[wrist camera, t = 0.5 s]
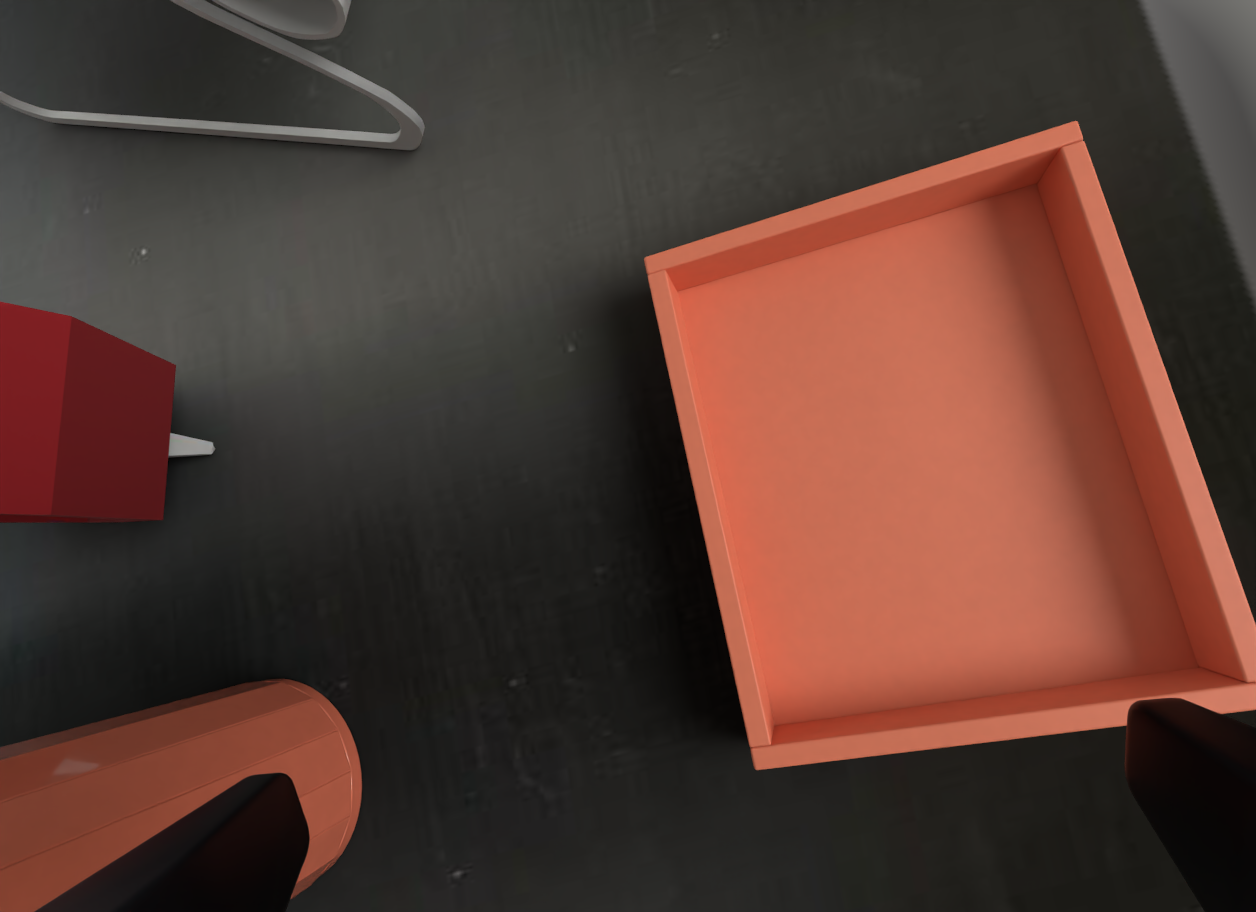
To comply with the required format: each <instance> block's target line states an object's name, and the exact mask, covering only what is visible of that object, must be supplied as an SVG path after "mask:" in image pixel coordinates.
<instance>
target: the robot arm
mask: <svg viewBox="0 0 1256 912" xmlns="http://www.w3.org/2000/svg"><path fill="white" fill-rule="evenodd" d="M1125 774H1126V779H1127V782H1128V785H1129V788H1130V790H1131V792H1132V794H1133V796H1134V798H1135V800H1136V801H1137V803H1138V805H1139V806H1140V808H1141V809H1142V811H1143V813H1144V814H1145V816H1146V817H1147V819H1148V821H1149V822H1150V824H1151V826H1152V827H1153V829H1154V830H1155V832H1156V834H1157V835H1158V837H1159V838H1160V840H1161V842H1162V843H1163V845H1164V846H1165V848H1166V850H1167V851H1168V853H1169V855H1170V856H1171V858H1172V859H1173V861H1174V863H1175V864H1176V866H1177V867H1178V869H1179V871H1180V872H1181V874H1182V875H1183V877H1184V879H1185V880H1186V882H1187V884H1188V885H1189V887H1190V888H1191V890H1192V892H1193V893H1194V895H1195V896H1196V898H1197V900H1198V901H1199V903H1200V904H1201V906H1202V908H1203V909H1204V911H1205V912H1256V728H1254V727H1251V726H1249V725H1247V724H1244V723H1242V722H1239V721H1237V720H1234V719H1232V718H1229V717H1227V716H1224V715H1222V714H1219V713H1217V712H1214V711H1212V710H1209V709H1207V708H1204V707H1202V706H1199V705H1197V704H1194V703H1192V702H1189V701H1187V700H1184V699H1181V698H1160V699H1148V700H1139V701H1136V702H1134V703H1133V704H1132V705H1131V706H1130V708H1129V710H1128V715H1127V733H1126V752H1125ZM309 841H310V835H309V828H308V824H307V821H306V818H305V815H304V812H303V809H302V806H301V803H300V800H299V797H298V795H297V792H296V789H295V786H294V783H293V781H292V779H291V778H290V777H289V776H288V775H287V774H284V773H268V774H256V775H251V776H248V777H246V778H244V779H243V780H241V781H239V782H238V783H236V784H235V785H233V786H232V787H230V788H228V789H227V790H225V791H224V792H222V793H221V794H219V795H217V796H216V797H214V798H213V799H211V800H209V801H208V802H206V803H205V804H203V805H202V806H200V807H198V808H197V809H195V810H194V811H192V812H191V813H189V814H187V815H186V816H184V817H183V818H181V819H179V820H178V821H176V822H175V823H173V824H172V825H170V826H168V827H167V828H165V829H164V830H162V831H161V832H159V833H157V834H156V835H154V836H153V837H151V838H150V839H148V840H146V841H145V842H143V843H142V844H140V845H138V846H137V847H135V848H134V849H132V850H131V851H129V852H127V853H126V854H124V855H123V856H121V857H120V858H118V859H116V860H115V861H113V862H112V863H110V864H109V865H107V866H105V867H104V868H102V869H101V870H99V871H97V872H96V873H94V874H93V875H91V876H90V877H88V878H86V879H85V880H83V881H82V882H80V883H79V884H77V885H75V886H74V887H72V888H71V889H69V890H68V891H66V892H64V893H63V894H61V895H60V896H58V897H56V898H55V899H53V900H52V901H50V902H49V903H47V904H45V905H44V906H42V907H41V908H39V909H38V910H36V911H34V912H285V911H286V909H287V906H288V903H289V901H290V898H291V895H292V893H293V890H294V888H295V885H296V882H297V880H298V877H299V875H300V872H301V869H302V867H303V864H304V861H305V859H306V856H307V853H308V848H309Z"/></svg>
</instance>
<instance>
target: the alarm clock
mask: <svg viewBox="0 0 1256 912" xmlns="http://www.w3.org/2000/svg"><path fill="white" fill-rule="evenodd" d="M175 370H176V365H174V364H172V363H170V362H168V361H166V360H164V359H161V358H159V357H157V356H155V355H153V354H151V353H149V352H147V351H144V350H142V349H140V348H138V347H136V346H134V345H132V344H129V343H127V342H125V341H123V340H121V339H119V338H117V337H114V336H112V335H110V334H108V333H106V332H104V331H102V330H100V329H97V328H95V327H93V326H91V325H89V324H87V323H85V322H82V321H80V320H78V319H76V318H74V317H72V316H67V315H62V314H57V313H53V312H48V311H43V310H38V309H33V308H28V307H23V306H18V305H14V304H9V303H4V302H0V523H59V522H134V521H153V520H163V514H164V502H165V490H166V478H167V466H168V458H172V457H187V456H202V455H211V454H212V453H213V452H214V450H215V447H214V446H213V442H209V441H204V440H200V439H195V438H191V437H186V436H182V435H177V434H173V433H170V430H171V418H172V406H173V394H174V382H175Z"/></svg>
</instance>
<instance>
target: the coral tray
mask: <svg viewBox="0 0 1256 912" xmlns="http://www.w3.org/2000/svg"><path fill="white" fill-rule="evenodd" d="M1082 140H1083V136H1082V133H1081V130H1080V127H1079V125H1078V122H1077V121H1073V122H1070V123H1067V124H1064V125H1061V126H1058V127H1054V128H1051V129H1048V130H1045V131H1042V132H1039V133H1036V134H1032V135H1029V136H1026V137H1023V138H1020V139H1017V140H1013V141H1010V142H1007V143H1004V144H1001V145H998V146H995V147H991V148H988V149H985V150H982V151H979V152H976V153H972V154H969V155H966V156H963V157H960V158H957V159H953V160H950V161H947V162H944V163H941V164H938V165H935V166H931V167H928V168H925V169H922V170H919V171H916V172H912V173H909V174H906V175H903V176H900V177H897V178H894V179H890V180H887V181H884V182H881V183H878V184H875V185H871V186H868V187H865V188H862V189H859V190H856V191H853V192H849V193H846V194H843V195H840V196H837V197H834V198H830V199H827V200H824V201H821V202H818V203H815V204H812V205H808V206H805V207H802V208H799V209H796V210H793V211H789V212H786V213H783V214H780V215H777V216H774V217H771V218H767V219H764V220H761V221H758V222H755V223H752V224H748V225H745V226H742V227H739V228H736V229H733V230H729V231H726V232H723V233H720V234H717V235H714V236H711V237H707V238H704V239H701V240H698V241H695V242H692V243H688V244H685V245H682V246H679V247H676V248H673V249H670V250H666V251H663V252H660V253H657V254H654V255H651V256H647V257H645V258H644V262H645V267H646V271H647V274H648V281H649V286H650V290H651V295H652V300H653V304H654V309H655V313H656V318H657V323H658V327H659V332H660V336H661V341H662V346H663V350H664V355H665V359H666V364H667V369H668V373H669V378H670V383H671V387H672V392H673V396H674V401H675V406H676V410H677V415H678V419H679V424H680V429H681V433H682V438H683V442H684V447H685V452H686V456H687V461H688V465H689V470H690V475H691V479H692V484H693V489H694V493H695V498H696V502H697V507H698V512H699V516H700V521H701V525H702V530H703V535H704V539H705V544H706V548H707V553H708V558H709V562H710V567H711V572H712V576H713V581H714V585H715V590H716V595H717V599H718V604H719V608H720V613H721V618H722V622H723V627H724V631H725V636H726V641H727V645H728V650H729V655H730V659H731V664H732V668H733V673H734V678H735V682H736V687H737V691H738V696H739V701H740V705H741V710H742V714H743V719H744V724H745V728H746V733H747V737H748V742H749V746H750V747H751V750H750V751H751V755H752V760H753V765H754V768H755V770H763V769H771V768H779V767H787V766H796V765H804V764H812V763H820V762H829V761H837V760H845V759H853V758H862V757H870V756H878V755H886V754H895V753H903V752H911V751H919V750H928V749H936V748H944V747H952V746H961V745H969V744H977V743H985V742H994V741H1002V740H1010V739H1018V738H1027V737H1035V736H1043V735H1051V734H1060V733H1068V732H1076V731H1084V730H1093V729H1101V728H1109V727H1117V726H1126V725H1127V715H1128V710H1129V708H1130V706H1131V705H1132V704H1133V703H1134V702H1136V701H1139V700H1148V699H1160V698H1181V699H1184V700H1187V701H1189V702H1192V703H1194V704H1197V705H1199V706H1202V707H1204V708H1207V709H1209V710H1212V711H1214V712H1217V713H1219V714H1225V713H1233V712H1241V711H1249V710H1256V624H1255V622H1254V619H1253V616H1252V613H1251V610H1250V607H1249V605H1248V602H1247V599H1246V596H1245V593H1244V591H1243V588H1242V585H1241V582H1240V579H1239V576H1238V574H1237V571H1236V568H1235V565H1234V562H1233V559H1232V557H1231V554H1230V551H1229V548H1228V545H1227V543H1226V540H1225V537H1224V534H1223V531H1222V528H1221V526H1220V523H1219V520H1218V517H1217V514H1216V511H1215V509H1214V506H1213V503H1212V500H1211V497H1210V495H1209V492H1208V489H1207V486H1206V483H1205V480H1204V478H1203V475H1202V472H1201V469H1200V466H1199V463H1198V461H1197V458H1196V455H1195V452H1194V449H1193V447H1192V444H1191V441H1190V438H1189V435H1188V432H1187V430H1186V427H1185V424H1184V421H1183V418H1182V415H1181V413H1180V410H1179V407H1178V404H1177V401H1176V399H1175V396H1174V393H1173V390H1172V387H1171V384H1170V382H1169V379H1168V376H1167V373H1166V370H1165V367H1164V365H1163V362H1162V359H1161V356H1160V353H1159V351H1158V348H1157V345H1156V342H1155V339H1154V336H1153V334H1152V331H1151V328H1150V325H1149V322H1148V319H1147V317H1146V314H1145V311H1144V308H1143V305H1142V303H1141V300H1140V297H1139V294H1138V291H1137V288H1136V286H1135V283H1134V280H1133V277H1132V274H1131V271H1130V269H1129V266H1128V263H1127V260H1126V257H1125V255H1124V252H1123V249H1122V246H1121V243H1120V240H1119V238H1118V235H1117V232H1116V229H1115V226H1114V223H1113V221H1112V218H1111V215H1110V212H1109V209H1108V207H1107V204H1106V201H1105V198H1104V195H1103V192H1102V190H1101V187H1100V184H1099V181H1098V178H1097V175H1096V173H1095V170H1094V167H1093V164H1092V161H1091V159H1090V156H1089V153H1088V150H1087V147H1086V144H1085V142H1084V141H1082Z"/></svg>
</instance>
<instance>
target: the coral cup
mask: <svg viewBox="0 0 1256 912" xmlns="http://www.w3.org/2000/svg"><path fill="white" fill-rule="evenodd" d="M268 773H284V774H287V775H288V776H289V777H290V778H291V779H292V781H293V783H294V786H295V789H296V792H297V795H298V797H299V800H300V803H301V806H302V809H303V812H304V815H305V818H306V821H307V824H308V828H309V835H310V841H309V848H308V853H307V856H306V859H305V861H304V864H303V867H302V869H301V872H300V875H299V877H298V880H297V882H296V885H295V888H294V890H293V893H292V895H291V898H290V899H292V898H293V897H295V896H296V895H297V894H299V893H300V892H302V891H303V890H305V889H306V888H307V887H309V886H310V885H311V884H312V883H313V882H314V881H315V880H316V879H317V878H318V877H320V876H321V875H322V874H324V873H325V872H326V871H327V870H328V869H329V868H330V867H331V866H332V865H333V864H334V863H335V862H336V861H337V859H338V858H339V857H340V855H341V854H342V853H343V851H344V849H345V848H346V846H347V844H348V842H349V841H350V838H351V836H352V834H353V831H354V829H355V826H356V822H357V819H358V815H359V810H360V804H361V795H362V774H361V766H360V759H359V755H358V751H357V748H356V744H355V742H354V739H353V736H352V734H351V731H350V730H349V728H348V726H347V724H346V722H345V720H344V719H343V717H342V716H341V714H340V713H339V711H338V710H337V709H336V708H335V707H334V706H333V704H332V703H331V702H330V701H329V700H328V699H327V698H325V697H324V696H323V695H322V694H321V693H319V692H318V691H316V690H315V689H313V688H311V687H309V686H307V685H305V684H303V683H300V682H296V681H293V680H288V679H267V680H263V681H259V682H248V683H244V684H241V685H237V686H233V687H229V688H225V689H221V690H218V691H214V692H210V693H206V694H202V695H199V696H195V697H191V698H187V699H183V700H179V701H176V702H172V703H168V704H164V705H160V706H157V707H153V708H149V709H145V710H141V711H137V712H134V713H130V714H126V715H122V716H118V717H115V718H111V719H107V720H103V721H99V722H95V723H92V724H88V725H84V726H80V727H76V728H73V729H69V730H65V731H61V732H57V733H53V734H50V735H46V736H42V737H38V738H34V739H30V740H27V741H23V742H19V743H15V744H11V745H8V746H4V747H0V912H34V911H36V910H38V909H39V908H41V907H42V906H44V905H45V904H47V903H49V902H50V901H52V900H53V899H55V898H56V897H58V896H60V895H61V894H63V893H64V892H66V891H68V890H69V889H71V888H72V887H74V886H75V885H77V884H79V883H80V882H82V881H83V880H85V879H86V878H88V877H90V876H91V875H93V874H94V873H96V872H97V871H99V870H101V869H102V868H104V867H105V866H107V865H109V864H110V863H112V862H113V861H115V860H116V859H118V858H120V857H121V856H123V855H124V854H126V853H127V852H129V851H131V850H132V849H134V848H135V847H137V846H138V845H140V844H142V843H143V842H145V841H146V840H148V839H150V838H151V837H153V836H154V835H156V834H157V833H159V832H161V831H162V830H164V829H165V828H167V827H168V826H170V825H172V824H173V823H175V822H176V821H178V820H179V819H181V818H183V817H184V816H186V815H187V814H189V813H191V812H192V811H194V810H195V809H197V808H198V807H200V806H202V805H203V804H205V803H206V802H208V801H209V800H211V799H213V798H214V797H216V796H217V795H219V794H221V793H222V792H224V791H225V790H227V789H228V788H230V787H232V786H233V785H235V784H236V783H238V782H239V781H241V780H243V779H244V778H246V777H248V776H251V775H256V774H268Z"/></svg>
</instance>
